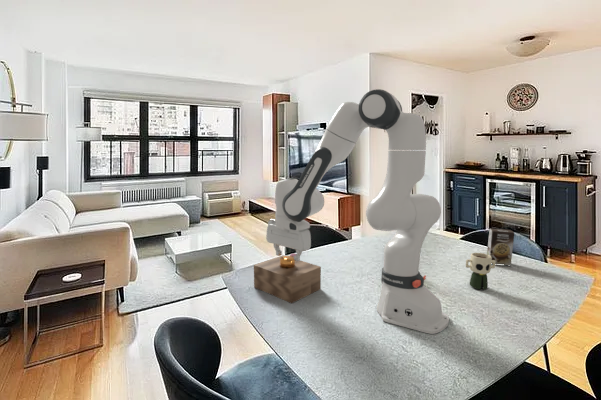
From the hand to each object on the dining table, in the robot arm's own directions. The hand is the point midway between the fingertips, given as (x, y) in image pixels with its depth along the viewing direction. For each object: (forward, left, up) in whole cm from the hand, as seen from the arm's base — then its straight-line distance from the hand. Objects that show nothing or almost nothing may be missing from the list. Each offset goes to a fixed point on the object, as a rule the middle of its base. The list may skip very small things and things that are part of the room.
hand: (287, 257), depth 128 cm
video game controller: (+17, -18, -13) cm, 28 cm away
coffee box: (-53, -87, -13) cm, 102 cm away
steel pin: (0, 0, -12) cm, 12 cm away
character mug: (-54, -51, -13) cm, 75 cm away
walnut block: (0, 0, -12) cm, 12 cm away
